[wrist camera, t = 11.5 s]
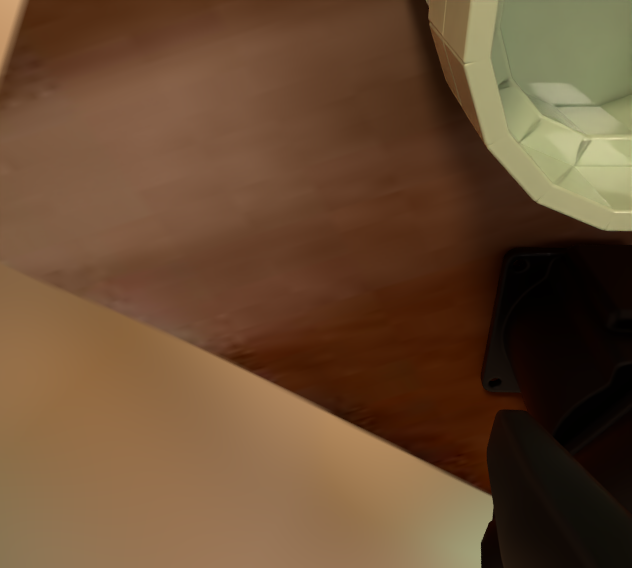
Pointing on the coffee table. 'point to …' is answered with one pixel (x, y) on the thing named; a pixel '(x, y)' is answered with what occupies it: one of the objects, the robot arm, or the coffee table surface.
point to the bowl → (548, 96)
